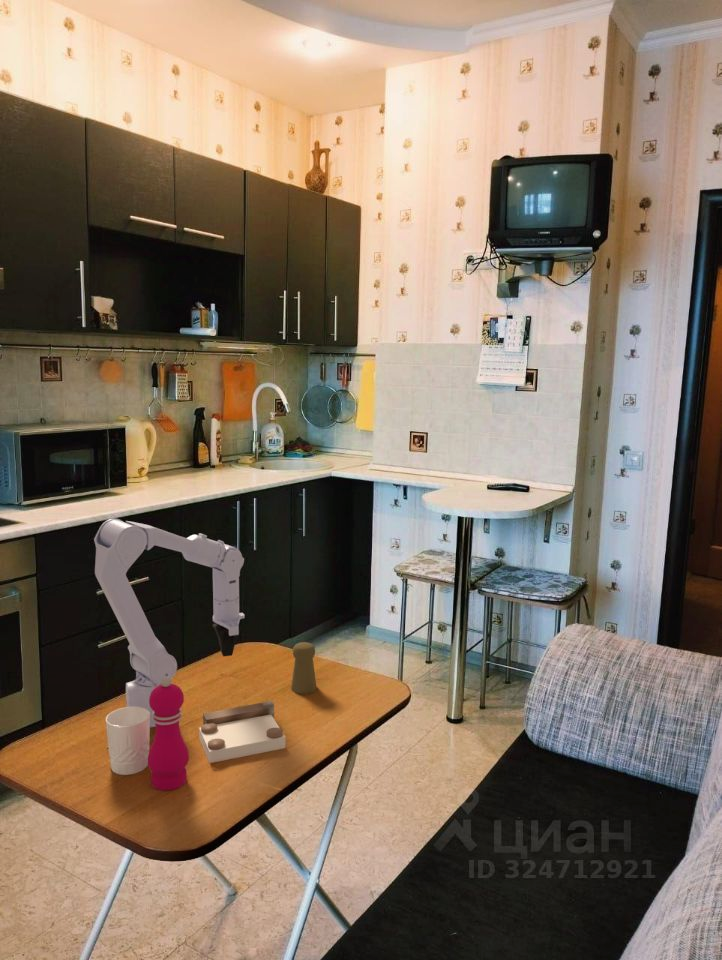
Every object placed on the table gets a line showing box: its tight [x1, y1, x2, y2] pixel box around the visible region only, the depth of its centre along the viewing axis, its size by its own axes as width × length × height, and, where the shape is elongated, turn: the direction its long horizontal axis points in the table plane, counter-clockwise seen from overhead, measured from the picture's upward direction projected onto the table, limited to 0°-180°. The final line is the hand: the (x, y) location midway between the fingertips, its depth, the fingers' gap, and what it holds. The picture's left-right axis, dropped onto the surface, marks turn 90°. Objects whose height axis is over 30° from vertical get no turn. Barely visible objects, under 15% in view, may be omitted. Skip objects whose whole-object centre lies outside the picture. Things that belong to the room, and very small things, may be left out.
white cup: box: [105, 706, 151, 776], centre depth 139 cm, size 8×8×10 cm
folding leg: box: [202, 700, 275, 725], centre depth 155 cm, size 15×3×4 cm, turn 114°
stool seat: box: [198, 715, 287, 764], centre depth 148 cm, size 15×10×3 cm, turn 113°
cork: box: [290, 641, 318, 695], centre depth 173 cm, size 6×6×11 cm
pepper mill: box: [147, 677, 190, 791], centre depth 134 cm, size 7×7×20 cm
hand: (227, 654), depth 169 cm, fingers closed
